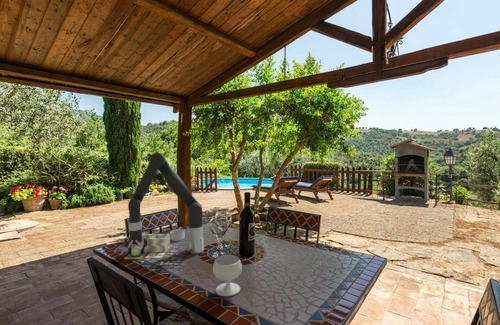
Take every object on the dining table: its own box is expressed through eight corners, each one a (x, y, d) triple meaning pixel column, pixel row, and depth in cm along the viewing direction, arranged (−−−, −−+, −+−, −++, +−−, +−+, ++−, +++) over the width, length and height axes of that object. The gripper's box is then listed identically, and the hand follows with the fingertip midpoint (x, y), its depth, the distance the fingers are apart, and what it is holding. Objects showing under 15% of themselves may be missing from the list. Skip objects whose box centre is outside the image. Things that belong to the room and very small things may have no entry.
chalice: (207, 290, 121) (207, 260, 121) (229, 279, 131) (229, 251, 130) (225, 302, 111) (225, 269, 111) (248, 289, 121) (247, 259, 120)
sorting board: (174, 247, 179) (174, 233, 178) (162, 261, 156) (161, 244, 155) (140, 247, 180) (140, 233, 179) (123, 261, 157) (122, 245, 156)
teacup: (182, 243, 187) (182, 233, 186) (168, 243, 187) (167, 233, 187) (187, 237, 201) (187, 227, 200) (174, 237, 201) (173, 227, 201)
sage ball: (143, 253, 164) (142, 245, 164) (138, 257, 158) (138, 248, 158) (134, 254, 164) (134, 245, 164) (129, 257, 158) (129, 248, 158)
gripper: (148, 226, 164) (149, 251, 165) (127, 226, 165) (128, 251, 165) (143, 230, 157) (144, 255, 157) (121, 230, 157) (122, 255, 158)
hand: (136, 253), depth 161 cm, fingers open, 7 cm apart
